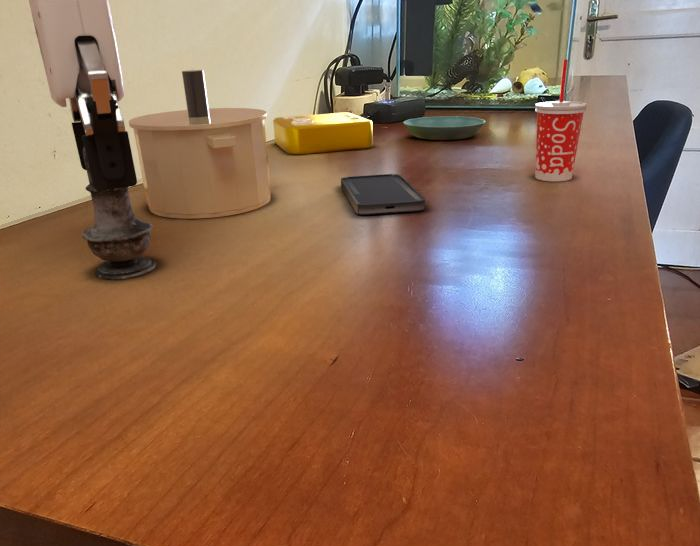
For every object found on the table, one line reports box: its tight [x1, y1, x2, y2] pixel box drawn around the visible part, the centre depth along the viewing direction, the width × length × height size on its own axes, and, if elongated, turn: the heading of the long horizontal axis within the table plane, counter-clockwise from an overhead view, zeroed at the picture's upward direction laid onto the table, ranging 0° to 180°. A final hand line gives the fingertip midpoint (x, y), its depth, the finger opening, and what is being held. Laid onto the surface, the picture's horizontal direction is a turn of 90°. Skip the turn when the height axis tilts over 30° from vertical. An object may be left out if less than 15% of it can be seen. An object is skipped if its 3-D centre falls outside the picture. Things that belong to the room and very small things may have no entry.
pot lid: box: [128, 69, 268, 131], centre depth 73 cm, size 16×16×6 cm
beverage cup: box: [534, 59, 588, 182], centre depth 80 cm, size 6×6×14 cm
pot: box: [132, 119, 272, 220], centre depth 76 cm, size 15×20×10 cm
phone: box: [340, 173, 426, 216], centre depth 76 cm, size 8×1×15 cm
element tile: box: [272, 112, 374, 156], centre depth 112 cm, size 15×15×5 cm
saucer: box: [403, 115, 486, 141], centre depth 116 cm, size 15×15×3 cm
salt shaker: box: [81, 147, 157, 281], centre depth 54 cm, size 6×6×12 cm
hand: (108, 177), depth 53 cm, fingers open, 9 cm apart
